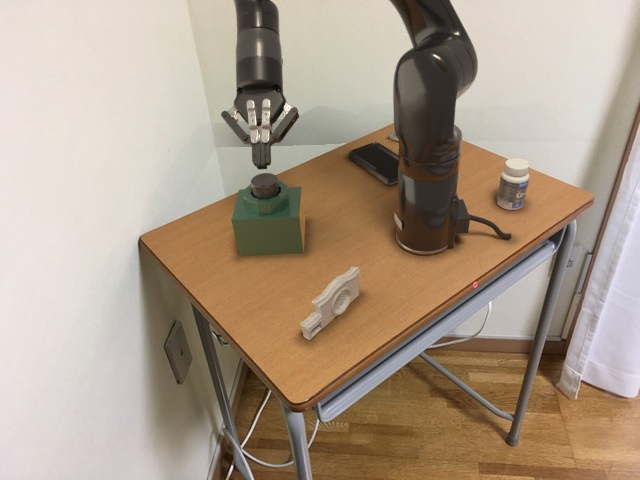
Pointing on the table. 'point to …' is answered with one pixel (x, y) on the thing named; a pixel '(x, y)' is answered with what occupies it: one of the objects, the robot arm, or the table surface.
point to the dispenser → (269, 222)
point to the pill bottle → (513, 184)
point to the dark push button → (265, 186)
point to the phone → (377, 162)
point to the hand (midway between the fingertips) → (262, 168)
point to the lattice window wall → (332, 302)
